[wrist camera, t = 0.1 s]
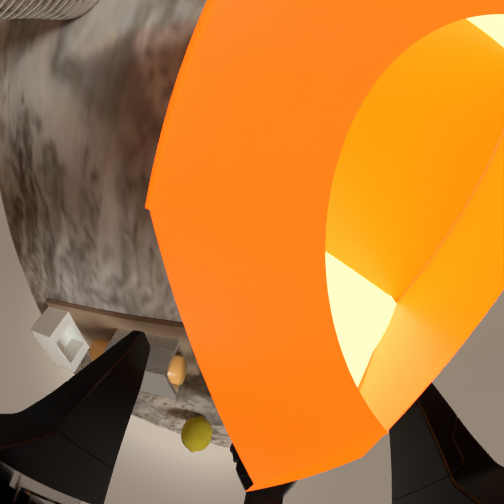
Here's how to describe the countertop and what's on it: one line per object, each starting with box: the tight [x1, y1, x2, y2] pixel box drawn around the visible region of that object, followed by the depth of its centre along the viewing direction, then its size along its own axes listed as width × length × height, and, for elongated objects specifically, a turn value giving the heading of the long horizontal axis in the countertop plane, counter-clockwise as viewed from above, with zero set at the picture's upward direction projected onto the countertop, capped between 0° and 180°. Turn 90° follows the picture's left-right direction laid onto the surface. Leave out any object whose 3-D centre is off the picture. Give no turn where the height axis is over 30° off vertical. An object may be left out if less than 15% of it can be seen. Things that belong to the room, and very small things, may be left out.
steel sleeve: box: [104, 328, 189, 399], centre depth 32 cm, size 6×9×5 cm, turn 92°
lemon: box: [181, 416, 212, 452], centre depth 42 cm, size 6×6×8 cm
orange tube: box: [90, 339, 187, 385], centre depth 32 cm, size 4×13×4 cm, turn 92°
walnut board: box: [46, 298, 200, 376], centre depth 35 cm, size 10×24×1 cm, turn 92°
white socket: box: [30, 306, 90, 372], centre depth 34 cm, size 8×5×5 cm, turn 2°
